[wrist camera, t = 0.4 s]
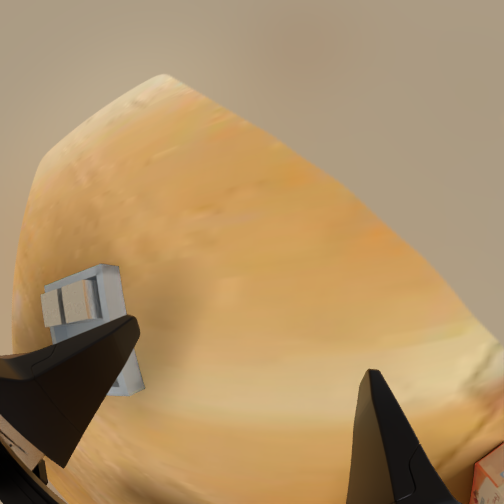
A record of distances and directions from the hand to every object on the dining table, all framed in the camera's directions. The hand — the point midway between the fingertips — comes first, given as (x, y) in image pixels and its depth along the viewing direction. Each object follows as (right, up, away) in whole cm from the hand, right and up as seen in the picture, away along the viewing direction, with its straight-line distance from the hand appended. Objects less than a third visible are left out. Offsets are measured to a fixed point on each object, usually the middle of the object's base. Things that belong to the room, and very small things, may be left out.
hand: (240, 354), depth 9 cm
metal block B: (-22, -4, +19) cm, 29 cm away
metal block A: (-17, -2, +18) cm, 25 cm away
